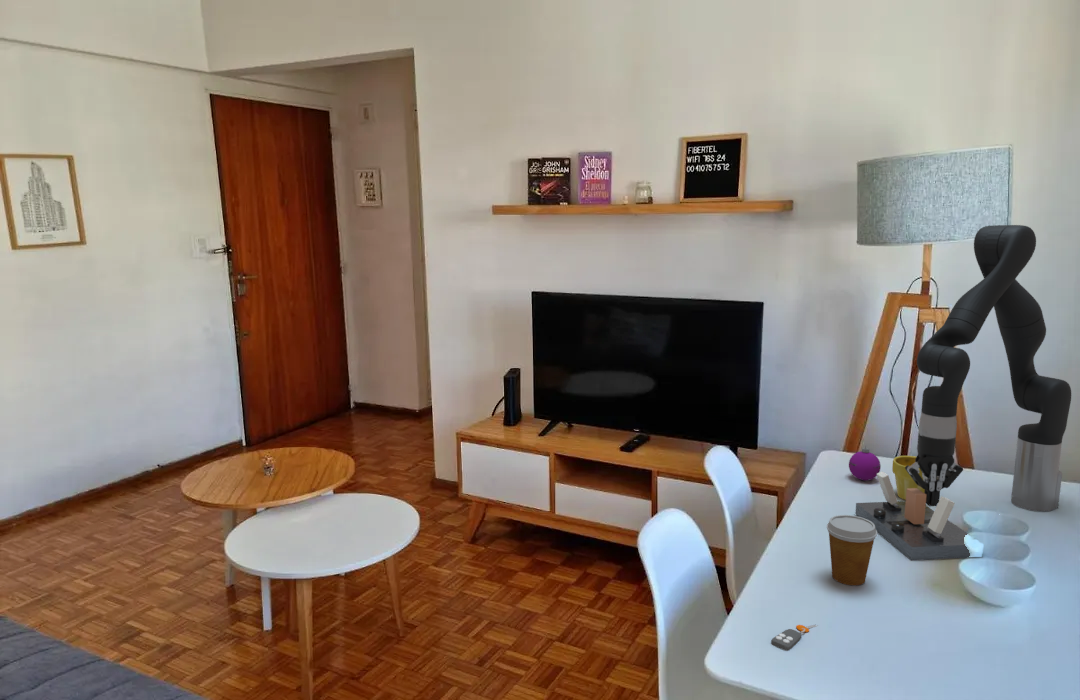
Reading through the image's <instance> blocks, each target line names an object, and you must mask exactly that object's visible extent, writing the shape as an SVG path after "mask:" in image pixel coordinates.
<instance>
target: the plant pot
mask: <svg viewBox="0 0 1080 700" xmlns="http://www.w3.org/2000/svg"><path fill="white" fill-rule="evenodd" d="M916 457H917V455H915V456H914V455H898V456H895V457H894V458H893V459H892V469H891V470H892V473H893V474H894V476H895V477H894V478H895V484H896V485H895V486H896V492H897V496H898V497H899V498H900V499H902V500H903V501H906V490H907V489H910V488H917V489H919V490H920V491H922V492H923V493H924V491H925V489H923V488H921V487H920V486H918V485H917V484H916V483H915V482H914V480H913V479H912V477H911V476H910V475H909V473H908V472H907V471H906V469H905V467H906V466H907V465H909V466H911V465H912V464H914V463H915V459H916ZM919 472H920V473H918V474H919V475H920V476H921V478H922V479H923V477H922V471H921V470H920V468H919Z"/></svg>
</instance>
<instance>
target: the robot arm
mask: <svg viewBox="0 0 1080 700" xmlns="http://www.w3.org/2000/svg"><path fill="white" fill-rule="evenodd" d="M1036 246H1037V237H1036V234H1035V231H1034V230H1033V229H1032V228H1031V227H1029V226H1027V225H1021V224H1001V225H1000V224H999V225H998V224H997V225H994V224H993V225H987V226H986V225H985V226H983V227H981V228H979V230H977V232H976V234H975V235H974V239H973V251H974V252H973V253H974V256H975V259H976V262H977V264H978V267H979V270H980V272H981V275H982V278H983V279H982V280H981V281H979V282H978V283H977V284H975V285H974V286H973V287H972V288H970V289H968V290H967V291H966V292H965V293H964V294H963V295H961V296H960V297H959V299H958V300H957V301H956V302H955V304H954V306H953V307H952V308H951V311H950V312H949V314H948V316H947V318H946V319H945V321H944V323H943V325H942V326H941V327H940V328H939V329H938V330H937V331H935V333H934V334H933V335H932V336H931V337H930V338H929V339H928V340H927V341H926V342H925V343H924V344H923V345H922V346H921V348H920V349H919V351H918V353H917V357H916V366H917V368H918V369H919V371H920V372H921V373H922V374H925V375H927V376H933V377H938V378H942V379H943V380H942V382H941V384H940V385H931V386H927V387H926V388H924V390H923V392H922V401H921V411H920V413H921V414H920V417H919V423H918V432H917V433H918V434H917V444H916V445H917V447H916V450H917V455H916V459H915V463H914V464H912V465H911V466H909V465H907V466H906V467H905V469H906V471H907V472H908V473H909V475H910V476H911V477H912V479H913V480H914V482H915V483H916V484H917V485H918V486H920V487H921V488H923V489H925V491H924V493H925V494H926V506H929V507H937V505H938V502H939V500H940V498H941V496H940V494H941V491H942V490H943V489H948V488H950V487H951V485H952V484H953V483H954V482H955V481H956V480H957V478H958V477H959V476H960V475H961V473H963V471H964V468H963V467H962V466H961V465H959V464H957V463H955V457H954V455H955V452H956V451H955V449H956V440H957V439H956V436H957V425H958V421H957V413H958V412H957V411H958V401H959V397H960V394H961V391H962V389H963V386H964V383H965V381H966V378H967V376H968V375H969V371H970V368H971V359H970V356H969V354H968V352H967V351H966V350H964V349H962V348H960V347H957V346H964V345H969V344H972V343H973V342H974V341H975V340H976V339H977V337H978V335H979V333H980V331H981V330H982V327H983V325H985V322H986V320H987V318H988V316H989V314H990V313H991V311H992V309H994V313H995V316H996V317H995V318H996V321H997V326H998V330H999V333H1000V336H1001V339H1002V342H1003V345H1004V349H1005V354H1006V358H1007V363H1008V366H1009V367H1008V368H1009V373H1010V382H1011V390H1012V395H1013V398H1014V401H1015V403H1016V406H1018V407H1019V408H1020V409H1022V410H1025V411H1029V412H1033V413H1036V414H1040V415H1041V416H1040V419H1039V421H1038V423H1025V424H1023V425H1020V426H1019V428H1018V431H1017V439H1016V441H1017V442H1016V448H1015V450H1016V451H1015V459H1014V467H1013V468H1014V469H1013V480H1012V486H1011V487H1012V489H1011V497H1010V502H1011V504H1013V505H1014V506H1016V507H1019V508H1021V509H1024V510H1025V509H1026V510H1029V511H1034V512H1051V511H1053V510H1055V509H1059V507H1060V506H1059V504H1060V496H1061V488H1062V478H1063V472H1062V471H1061V470H1060V461H1061V454H1062V453H1061V452H1062V445H1063V437H1064V434H1065V432H1066V429H1067V426H1068V419H1069V414H1070V408H1071V402H1072V389H1071V386H1070V384H1069V382H1068V381H1066V380H1064V379H1061V378H1060V379H1059V378H1057V377H1056V378H1054V377H1051V376H1044V375H1040V374H1038V373H1037V370H1036V366H1035V361H1034V360H1035V355H1036V354H1037V352H1038V351H1039V349H1040V347H1041V346H1042V344H1043V343H1044V340H1045V338H1046V335H1047V327H1046V323H1045V318H1044V315H1043V310H1042V308H1041V306H1040V304H1039V302H1038V301H1037V300H1036V298H1034V296H1033V295H1032V294H1031V293H1030V292H1029V291H1028V290H1027V289H1026V288H1025V287H1024V286H1023V285H1021V284H1020V282H1019V281H1018V280H1017V277H1018V276H1020V274H1021V272H1022V271H1023V270H1024V269H1025V267H1026V265H1028V263H1029V261H1030V260H1031V259H1032V257H1033V256H1034V253H1035V250H1036ZM919 468H920V470H921V471H922V477H923V479H922V478H921V476H920V475H919V474H918V473H920V472H919Z"/></svg>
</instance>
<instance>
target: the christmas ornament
mask: <svg viewBox="0 0 1080 700" xmlns="http://www.w3.org/2000/svg"><path fill="white" fill-rule="evenodd" d="M881 466H882V465H881V462H880V459H879V458H878V456H877V455H875V454H874V453H872V452H870V448H868V447H867V445H865V447H862V449H861V450H860V451H857V452H855V453H854V454H852V456H851V457H850V458H849V460H848V469H849V471H850V473H851V474H852V476H853V477H855V478H856V479H858V480H860V481H872V480H873V479H875V478H876V477H877V473H879V472H881Z"/></svg>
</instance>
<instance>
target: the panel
mask: <svg viewBox="0 0 1080 700" xmlns="http://www.w3.org/2000/svg"><path fill="white" fill-rule="evenodd" d="M905 503H906V500H903V501H902V500H897V503H896V504H897V505H898V507H897V508H896V507H894V506H893V505H891V504H890V503H889V502H887V501H873V502H871V501H870V502H856V503H855V512H854V513H855V514H856V515H855V516H858V517H862V518H865V519H867V520H869V521H871V522H872V523H874V525H875V528H876V530H877V534H879V536H881V537H882V538H883V539H884V540H886V541H887V542H889V544H891V545H892V546H893V547H894V548H895V549H897V550H898V551H899V552H900V553H901V554H903V555H904V556H905V558H906V557H907V558H908V559H909V560H910V561H922V560H923V561H926V560H948V559H949V560H950V559H968V558H967V557H969V556H970V553H969V550H968V549H967V547H966V546H965V544H964V537H965V535H967V534H969V533H968V532H966V531H965V530H964V529H962V528H960V527H959V526H958V525H956V524H955V523H953V522H951V521H950V520H947V522H946V524H945V526H944V528H943V531H942V533H941V534H939V533H938V534H939V535H940V537H939V538H937V537H936V536H934V535H933V534H932V533H930V532H929V531H927V527H928V525H929V522H930V520H931V518H932V516H933V513H934V511H935V510H933V509H932V508H931V507H930V506H929V507H928V505H926V507H925V519H924V524H913V523H911V522H910V521H909V520H907V519H906V518H905V517H904V516H905Z"/></svg>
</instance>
